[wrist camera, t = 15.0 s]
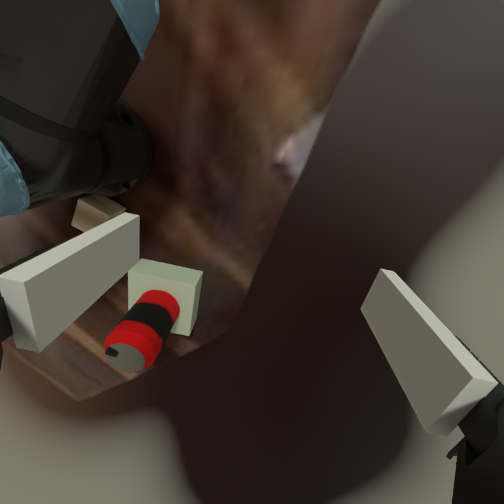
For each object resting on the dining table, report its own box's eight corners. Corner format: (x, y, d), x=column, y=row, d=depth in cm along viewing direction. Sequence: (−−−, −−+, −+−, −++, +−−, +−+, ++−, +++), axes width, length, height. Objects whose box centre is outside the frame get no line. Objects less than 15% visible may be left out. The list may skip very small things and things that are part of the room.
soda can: (148, 281, 43) (106, 329, 32) (187, 300, 44) (159, 353, 33) (134, 310, 46) (92, 363, 35) (171, 327, 47) (141, 384, 36)
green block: (141, 307, 52) (128, 323, 47) (141, 258, 47) (127, 270, 42) (196, 319, 52) (189, 336, 48) (203, 271, 47) (195, 285, 43)
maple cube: (117, 230, 45) (100, 240, 40) (91, 216, 44) (71, 225, 40) (126, 207, 43) (109, 215, 38) (99, 192, 42) (78, 199, 38)
